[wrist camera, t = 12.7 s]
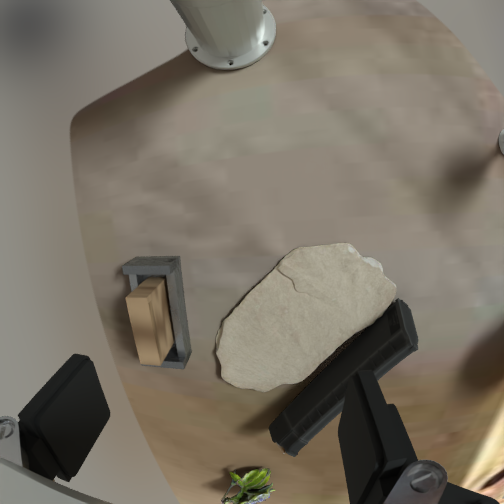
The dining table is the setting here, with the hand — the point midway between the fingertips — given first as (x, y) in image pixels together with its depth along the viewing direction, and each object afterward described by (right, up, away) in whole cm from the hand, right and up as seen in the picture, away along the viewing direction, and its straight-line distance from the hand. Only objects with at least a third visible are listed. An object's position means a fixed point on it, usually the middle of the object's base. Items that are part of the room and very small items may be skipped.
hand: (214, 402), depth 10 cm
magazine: (+15, -14, +37) cm, 42 cm away
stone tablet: (+8, -5, +36) cm, 37 cm away
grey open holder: (-12, -3, +36) cm, 38 cm away
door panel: (-12, -3, +35) cm, 38 cm away
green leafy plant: (0, -45, +46) cm, 64 cm away
